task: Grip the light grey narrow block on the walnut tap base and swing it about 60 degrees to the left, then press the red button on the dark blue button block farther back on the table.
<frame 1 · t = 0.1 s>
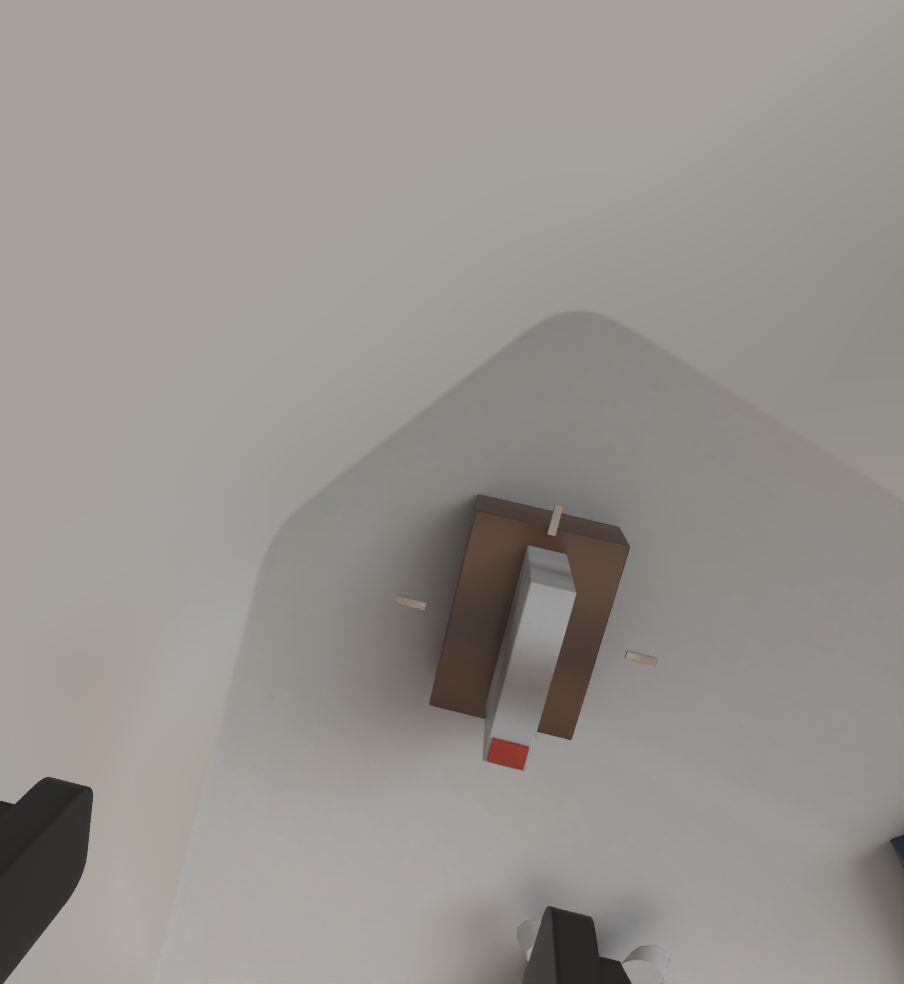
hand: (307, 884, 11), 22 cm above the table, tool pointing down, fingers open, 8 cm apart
light grey narrow block: (526, 654, 28), point 5 cm above the table, hinge at 0.0°
tap base: (524, 603, 34), on the table
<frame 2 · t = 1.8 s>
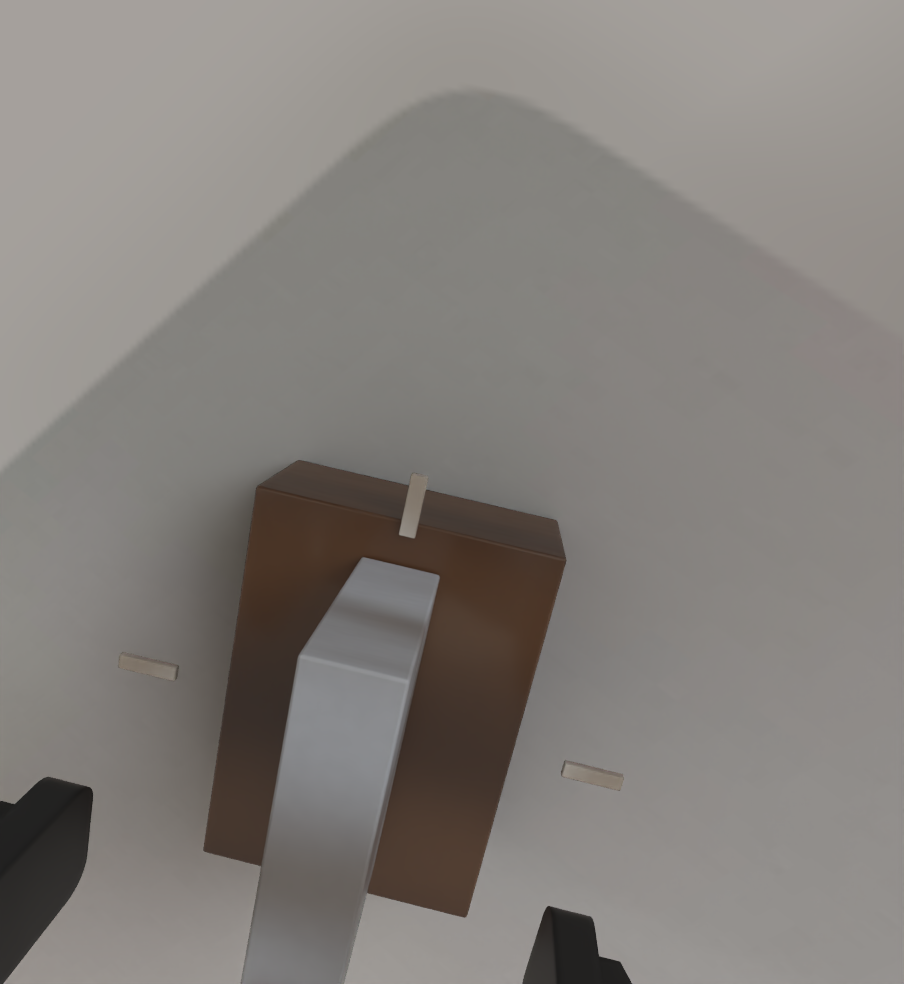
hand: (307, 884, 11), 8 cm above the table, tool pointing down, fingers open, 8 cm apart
light grey narrow block: (343, 788, 13), point 5 cm above the table, hinge at 0.0°
tap base: (390, 657, 19), on the table
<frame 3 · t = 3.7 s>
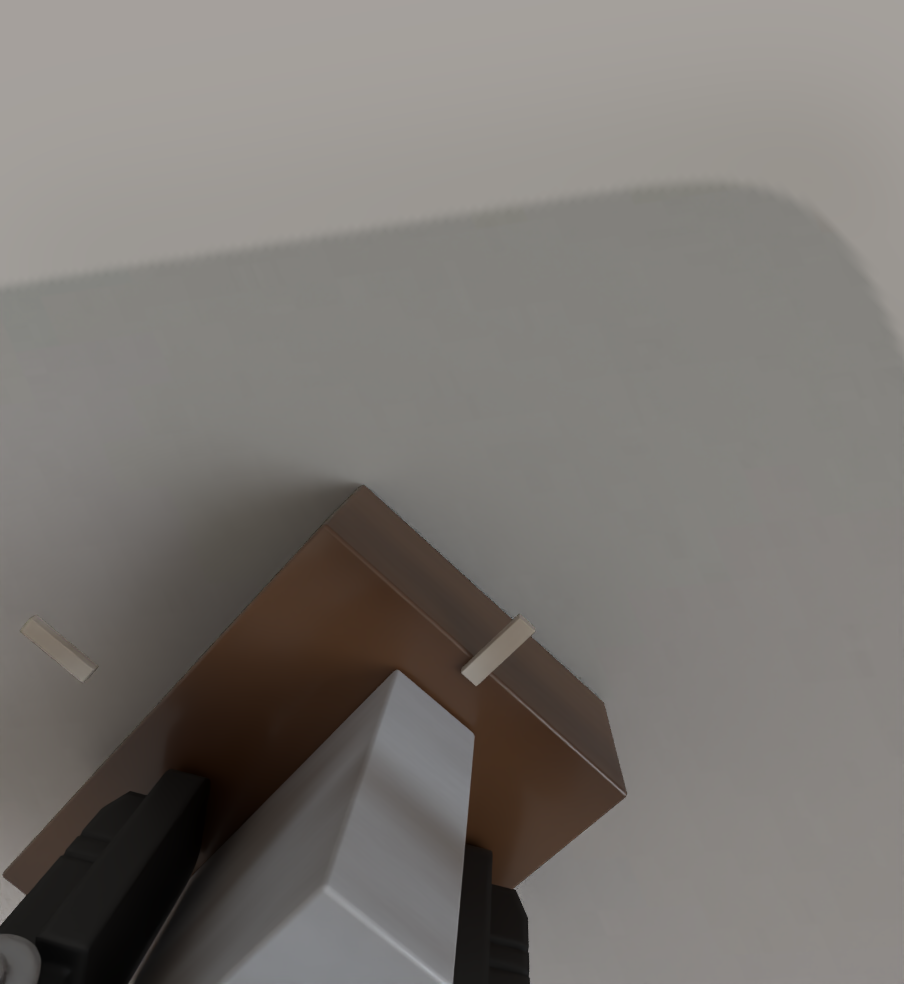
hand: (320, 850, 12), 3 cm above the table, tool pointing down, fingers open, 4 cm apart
light grey narrow block: (241, 961, 10), point 5 cm above the table, hinge at 1.1°
tap base: (335, 742, 15), on the table
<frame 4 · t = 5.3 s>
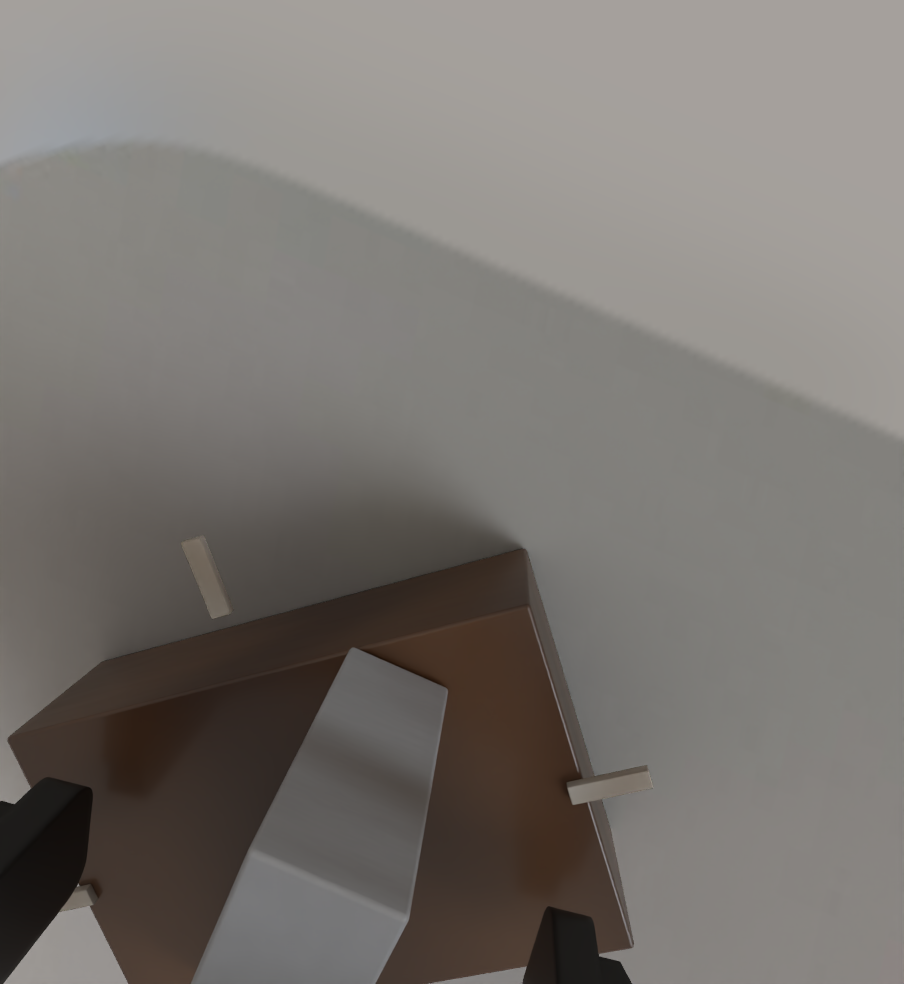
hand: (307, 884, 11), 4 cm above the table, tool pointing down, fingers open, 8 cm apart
light grey narrow block: (272, 967, 10), point 5 cm above the table, hinge at 49.0°
tap base: (355, 745, 15), on the table
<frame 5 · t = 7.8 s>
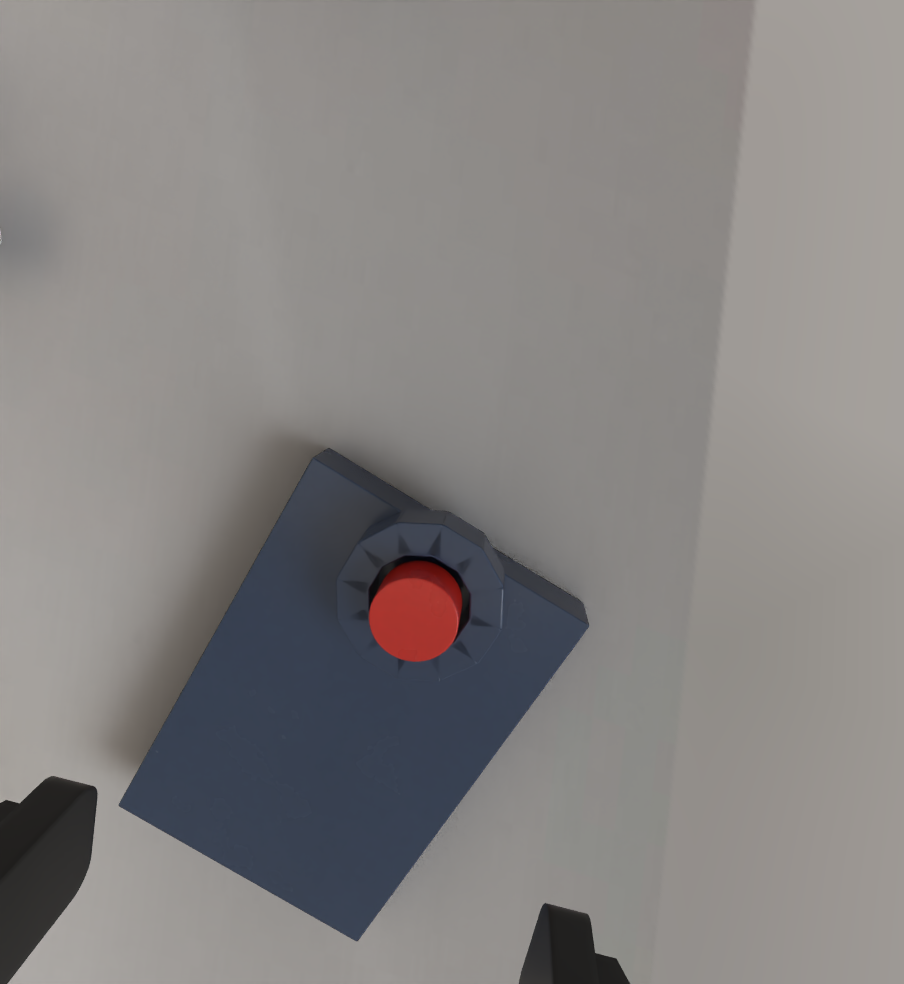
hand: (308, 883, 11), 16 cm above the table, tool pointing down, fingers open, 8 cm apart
button block: (349, 693, 29), on the table
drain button: (416, 610, 23), point 4 cm above the table, slide at 0.1 cm
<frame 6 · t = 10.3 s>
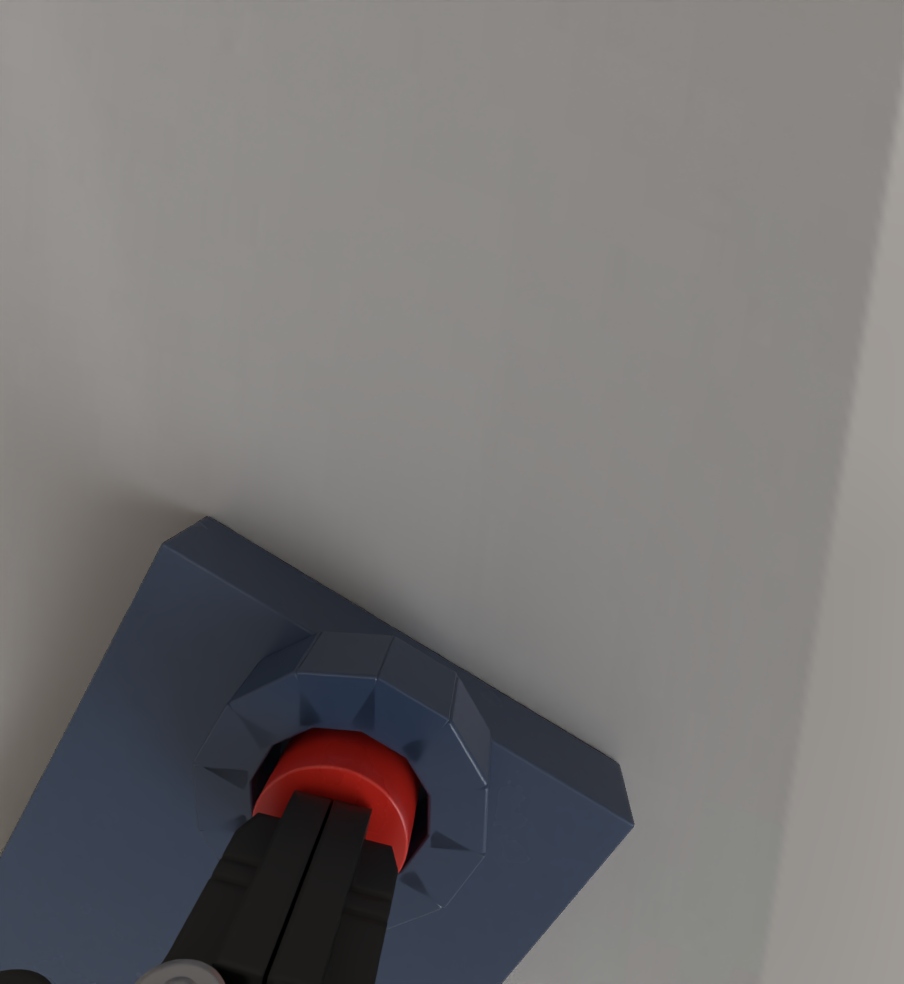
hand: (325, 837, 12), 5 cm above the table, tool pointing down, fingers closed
button block: (255, 886, 19), on the table
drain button: (340, 804, 13), point 4 cm above the table, slide at -0.5 cm, touching gripper
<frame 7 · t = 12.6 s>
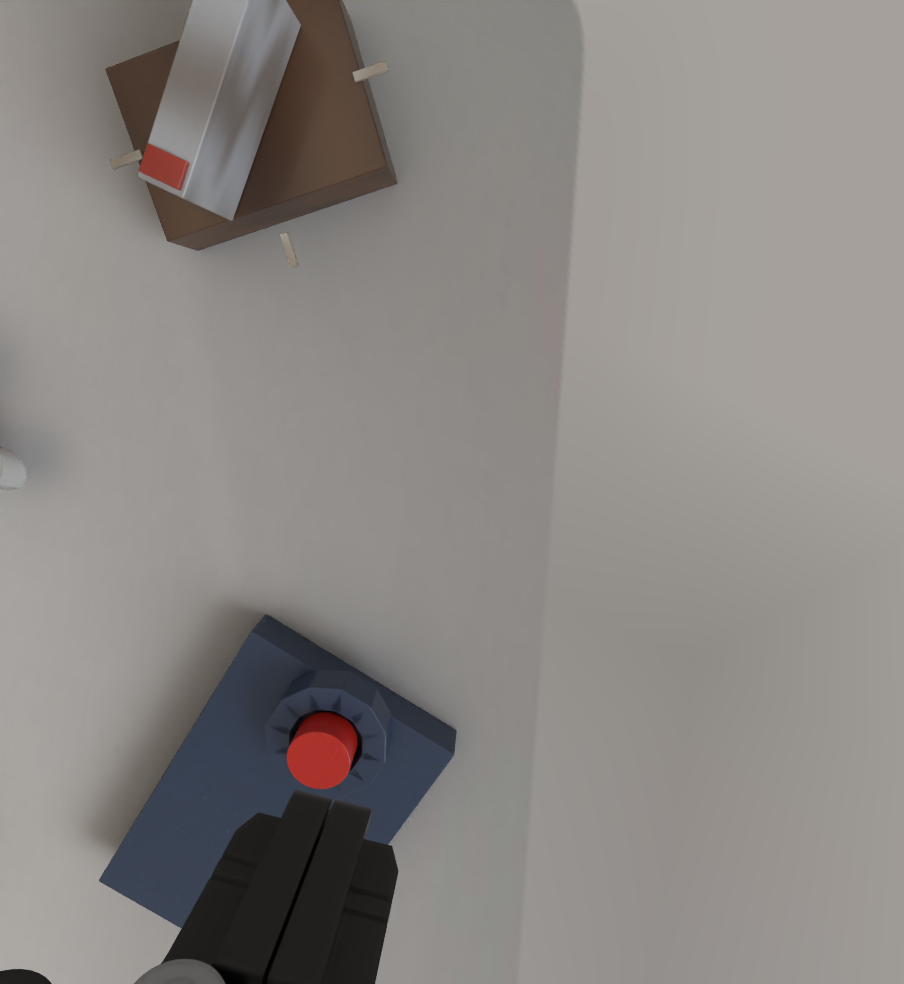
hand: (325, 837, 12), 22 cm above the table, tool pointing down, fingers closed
light grey narrow block: (222, 95, 25), point 5 cm above the table, hinge at 49.0°
tap base: (270, 139, 30), on the table
button block: (281, 793, 38), on the table
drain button: (322, 749, 32), point 4 cm above the table, slide at 0.1 cm
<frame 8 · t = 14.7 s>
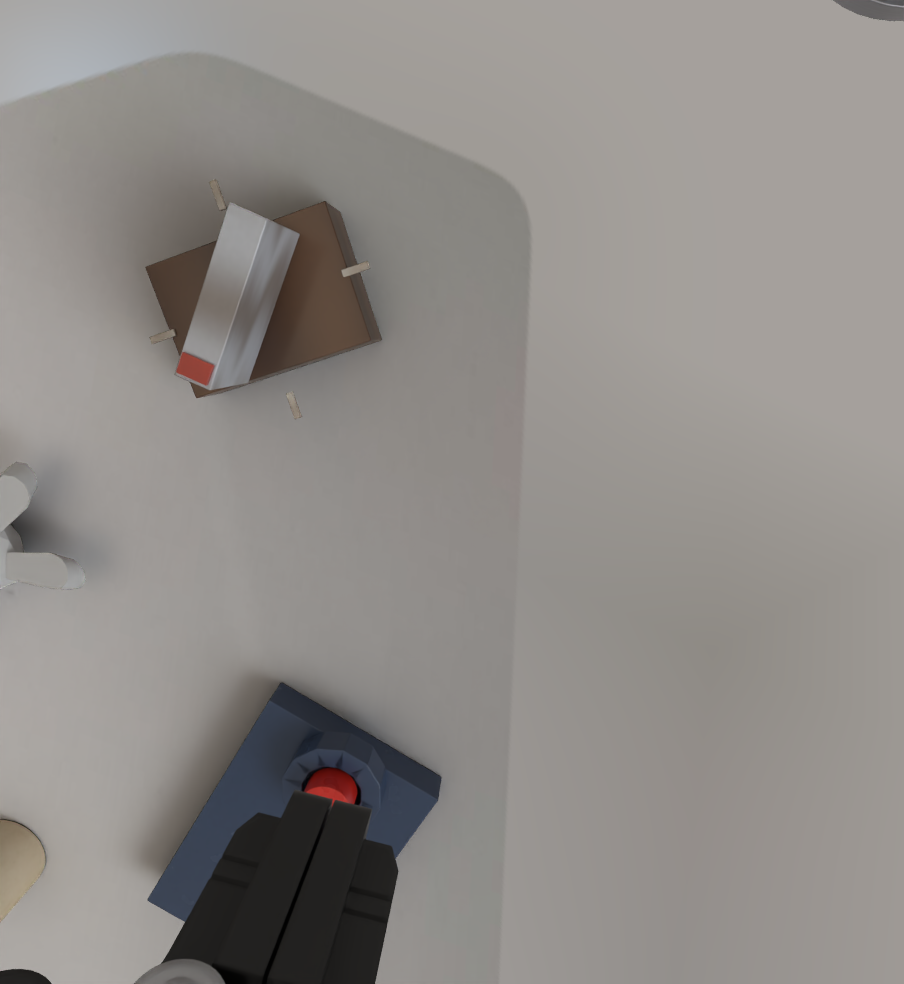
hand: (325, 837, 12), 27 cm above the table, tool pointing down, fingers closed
light grey narrow block: (238, 301, 32), point 5 cm above the table, hinge at 49.0°
tap base: (277, 306, 37), on the table
button block: (296, 827, 45), on the table
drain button: (328, 799, 39), point 4 cm above the table, slide at 0.1 cm
candle: (11, 849, 48), on the table
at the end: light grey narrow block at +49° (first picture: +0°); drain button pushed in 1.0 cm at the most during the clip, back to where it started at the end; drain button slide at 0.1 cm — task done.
